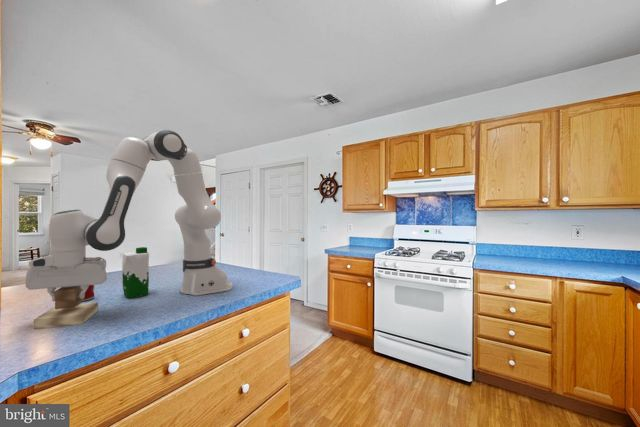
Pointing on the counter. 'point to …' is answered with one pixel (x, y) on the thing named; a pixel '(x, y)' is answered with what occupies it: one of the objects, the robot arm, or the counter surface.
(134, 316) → the counter surface
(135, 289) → the milk carton
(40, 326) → the maple plinth
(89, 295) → the soda can
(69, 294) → the walnut block
